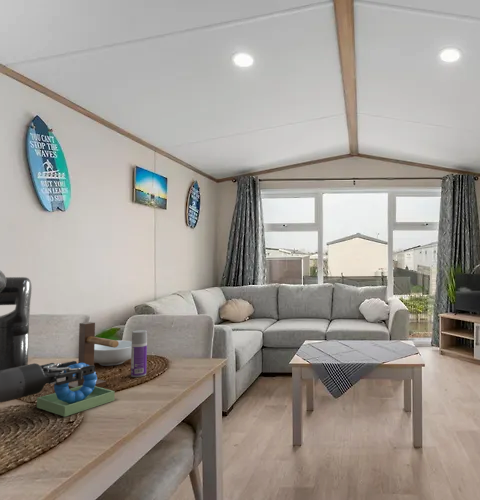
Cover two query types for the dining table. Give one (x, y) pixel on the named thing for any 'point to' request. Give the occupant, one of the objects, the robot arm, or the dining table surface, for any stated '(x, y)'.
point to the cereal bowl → (112, 353)
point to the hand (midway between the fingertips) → (84, 366)
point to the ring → (79, 395)
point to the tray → (65, 409)
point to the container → (139, 353)
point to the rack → (90, 349)
